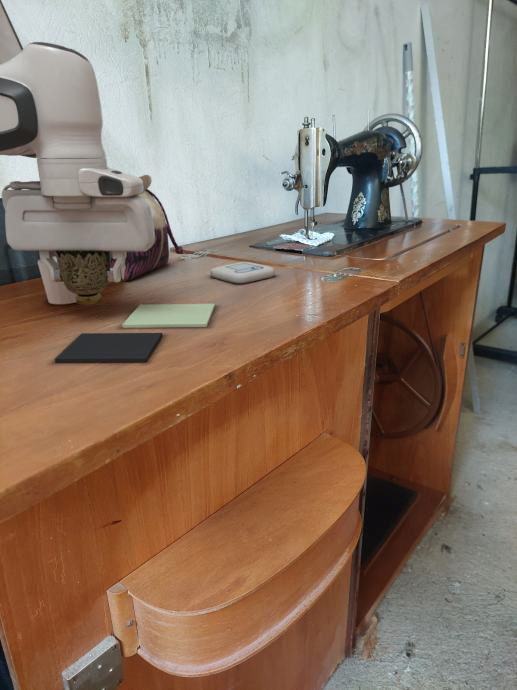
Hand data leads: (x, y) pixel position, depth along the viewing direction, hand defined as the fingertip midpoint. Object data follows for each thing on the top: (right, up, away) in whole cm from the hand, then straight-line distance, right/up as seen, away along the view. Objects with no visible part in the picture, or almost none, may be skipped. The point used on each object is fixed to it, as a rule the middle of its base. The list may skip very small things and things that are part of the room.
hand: (87, 281), depth 75 cm
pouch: (+2, +6, +31) cm, 32 cm away
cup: (0, -3, +1) cm, 3 cm away
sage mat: (+12, -5, +3) cm, 13 cm away
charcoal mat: (+6, -10, -9) cm, 15 cm away
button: (+22, +4, +26) cm, 34 cm away
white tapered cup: (-8, -2, +13) cm, 15 cm away
